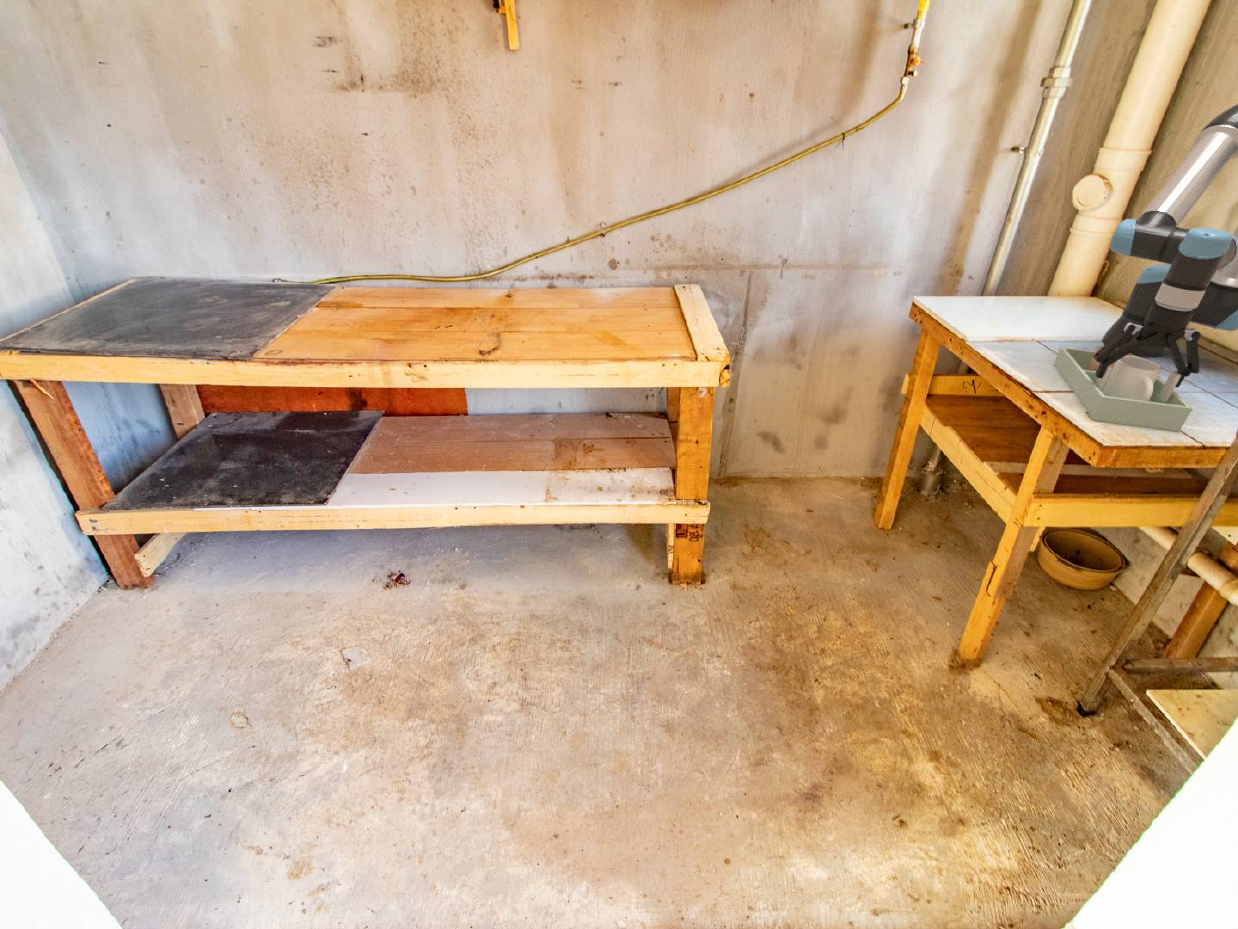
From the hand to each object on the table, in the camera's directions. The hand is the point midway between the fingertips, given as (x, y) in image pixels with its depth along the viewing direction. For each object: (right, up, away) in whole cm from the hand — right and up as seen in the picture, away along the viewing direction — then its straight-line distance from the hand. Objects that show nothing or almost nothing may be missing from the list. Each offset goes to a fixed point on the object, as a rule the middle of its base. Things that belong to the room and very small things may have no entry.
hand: (1129, 394), depth 150 cm
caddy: (+2, 0, +8) cm, 8 cm away
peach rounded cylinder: (+4, +5, +14) cm, 15 cm away
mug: (0, -3, +2) cm, 3 cm away
